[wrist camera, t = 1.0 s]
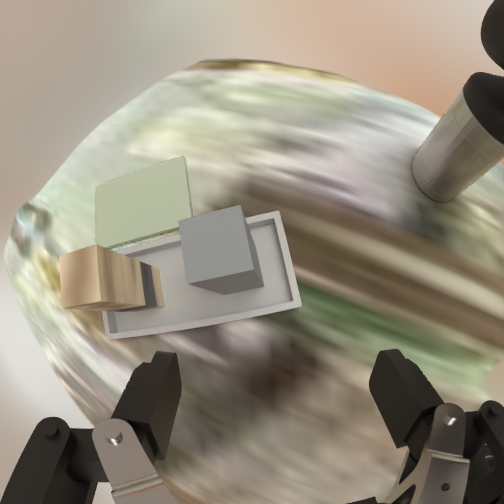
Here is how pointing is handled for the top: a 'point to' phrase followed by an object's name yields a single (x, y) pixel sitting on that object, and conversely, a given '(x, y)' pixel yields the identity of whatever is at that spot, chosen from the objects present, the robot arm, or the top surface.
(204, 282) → the slate box
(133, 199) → the pad
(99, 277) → the banded wooden block
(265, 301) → the parts tray
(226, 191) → the top surface
